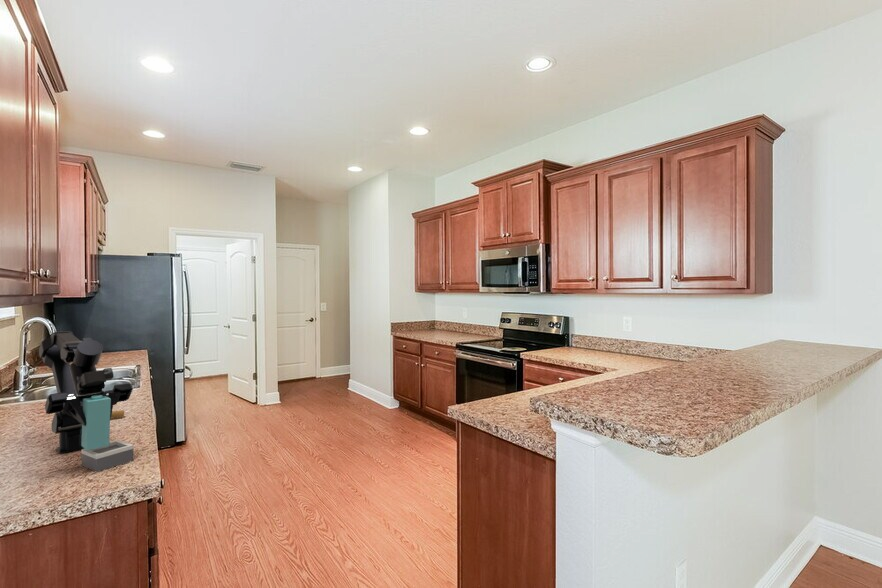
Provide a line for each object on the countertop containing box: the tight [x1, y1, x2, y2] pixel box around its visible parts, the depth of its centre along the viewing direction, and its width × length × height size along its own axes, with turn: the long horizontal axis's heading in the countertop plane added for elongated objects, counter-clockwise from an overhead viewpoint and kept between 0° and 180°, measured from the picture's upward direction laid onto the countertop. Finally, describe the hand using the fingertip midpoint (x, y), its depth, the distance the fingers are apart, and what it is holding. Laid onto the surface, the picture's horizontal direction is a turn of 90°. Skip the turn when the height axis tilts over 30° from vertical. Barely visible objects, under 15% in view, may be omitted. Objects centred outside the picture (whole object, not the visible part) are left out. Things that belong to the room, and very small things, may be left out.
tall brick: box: [81, 395, 111, 450], centre depth 119 cm, size 5×5×14 cm
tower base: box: [80, 439, 135, 473], centre depth 122 cm, size 9×9×4 cm
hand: (97, 422), depth 118 cm, fingers closed on tall brick, 5 cm apart
